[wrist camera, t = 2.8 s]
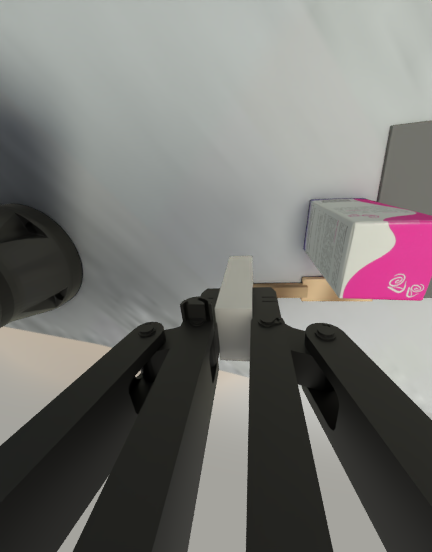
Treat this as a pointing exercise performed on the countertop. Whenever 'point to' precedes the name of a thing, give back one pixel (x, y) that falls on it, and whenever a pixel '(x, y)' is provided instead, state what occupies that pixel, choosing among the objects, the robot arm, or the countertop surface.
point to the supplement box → (370, 248)
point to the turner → (307, 290)
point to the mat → (408, 170)
